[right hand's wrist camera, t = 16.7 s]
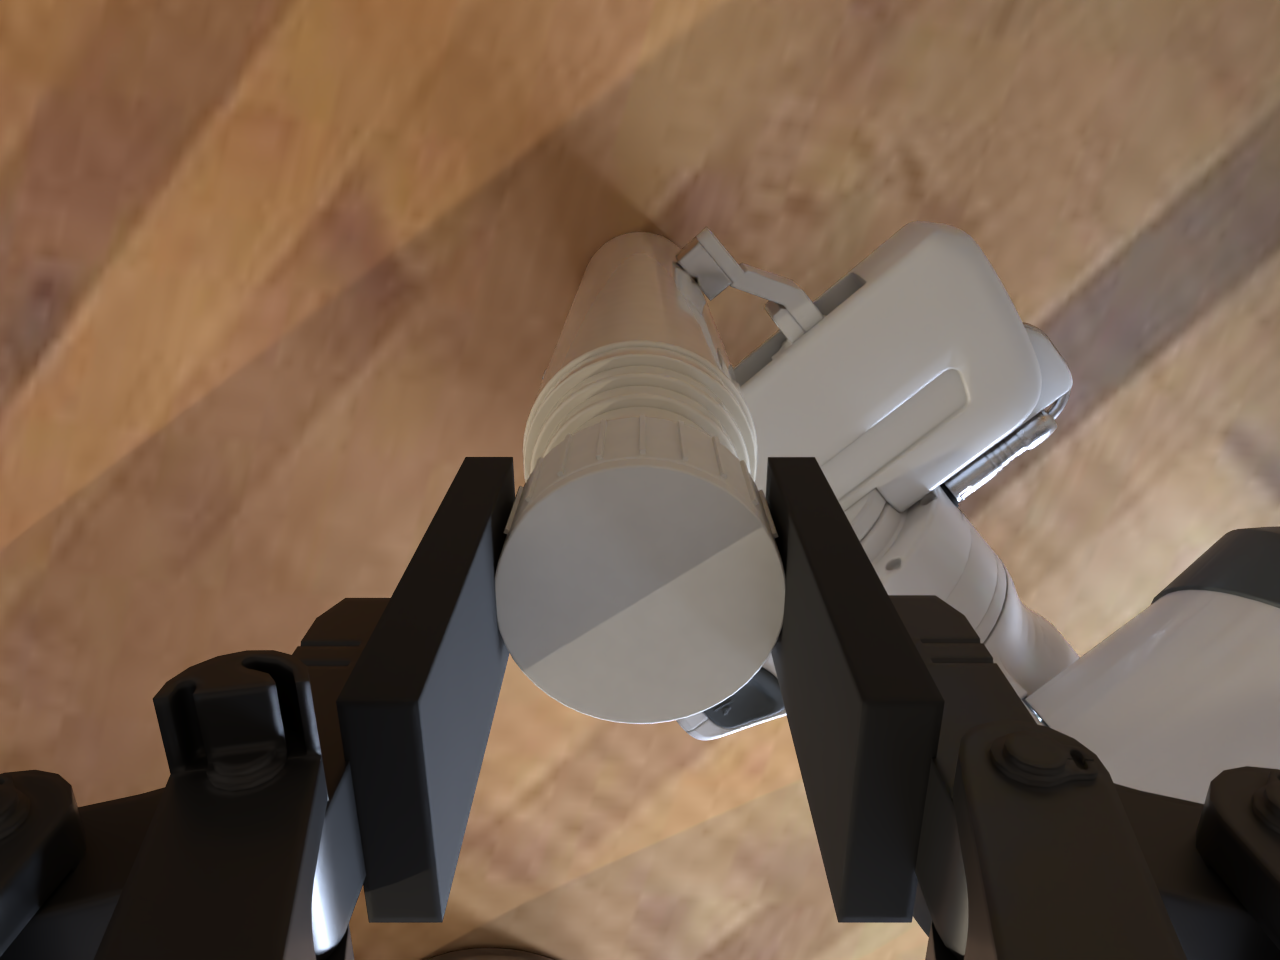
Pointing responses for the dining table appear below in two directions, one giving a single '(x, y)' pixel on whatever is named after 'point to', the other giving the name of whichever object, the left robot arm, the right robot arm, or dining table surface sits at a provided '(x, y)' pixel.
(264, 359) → the dining table surface
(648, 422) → the cap
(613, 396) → the bottle
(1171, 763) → the left robot arm
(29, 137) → the dining table surface
